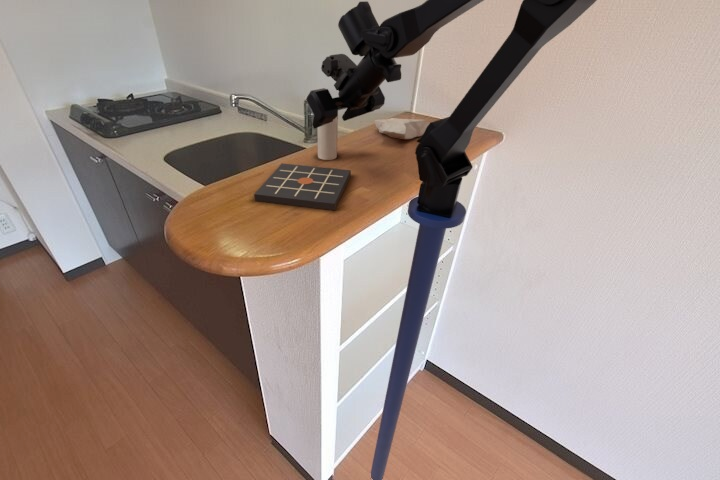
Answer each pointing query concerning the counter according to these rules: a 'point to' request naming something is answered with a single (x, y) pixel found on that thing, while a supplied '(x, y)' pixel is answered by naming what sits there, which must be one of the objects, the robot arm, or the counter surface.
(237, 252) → the counter surface
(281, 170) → the game board
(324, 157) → the white rounded cylinder
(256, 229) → the counter surface
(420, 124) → the rock
